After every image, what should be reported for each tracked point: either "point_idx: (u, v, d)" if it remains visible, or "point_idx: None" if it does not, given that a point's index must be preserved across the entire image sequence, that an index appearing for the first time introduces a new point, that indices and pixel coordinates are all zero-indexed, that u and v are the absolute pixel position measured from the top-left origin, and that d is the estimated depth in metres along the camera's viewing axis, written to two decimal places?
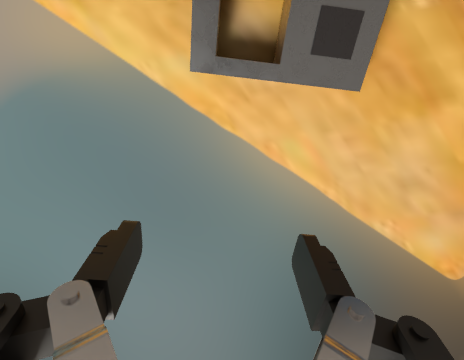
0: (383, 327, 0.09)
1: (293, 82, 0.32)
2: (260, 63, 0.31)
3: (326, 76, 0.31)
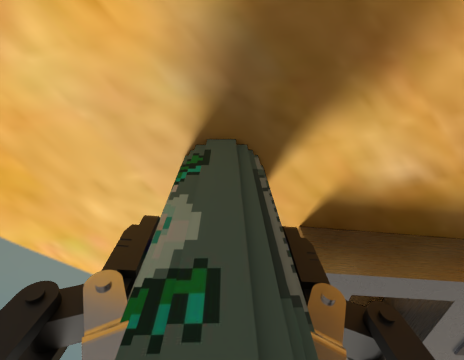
0: (354, 312, 0.09)
1: None
2: None
3: None
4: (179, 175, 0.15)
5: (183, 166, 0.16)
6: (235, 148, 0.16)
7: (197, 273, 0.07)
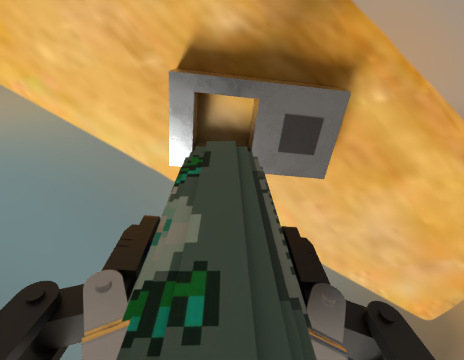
0: (354, 312, 0.09)
1: None
2: None
3: (293, 168, 0.35)
4: (179, 177, 0.15)
5: (183, 168, 0.16)
6: (235, 150, 0.16)
7: (197, 276, 0.07)
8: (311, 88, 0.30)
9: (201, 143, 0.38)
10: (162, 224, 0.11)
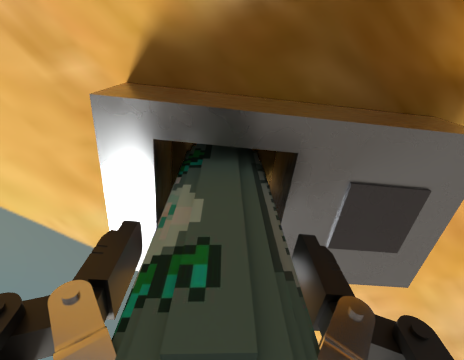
0: (382, 327, 0.09)
1: None
2: None
3: (353, 271, 0.18)
4: (182, 168, 0.16)
5: (185, 160, 0.17)
6: None
7: (200, 249, 0.08)
8: (415, 131, 0.13)
9: None
10: (167, 210, 0.12)
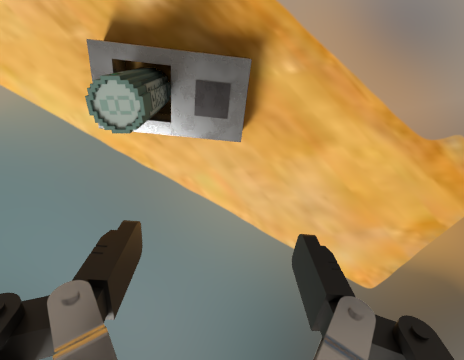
0: (383, 327, 0.09)
1: (184, 135, 0.39)
2: (155, 122, 0.38)
3: (211, 131, 0.39)
4: None
5: None
6: (152, 68, 0.37)
7: (116, 73, 0.28)
8: (215, 55, 0.34)
9: None
10: None
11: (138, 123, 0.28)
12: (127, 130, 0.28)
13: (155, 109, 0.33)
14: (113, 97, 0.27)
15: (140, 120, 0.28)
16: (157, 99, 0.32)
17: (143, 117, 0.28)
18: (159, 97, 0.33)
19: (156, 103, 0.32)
